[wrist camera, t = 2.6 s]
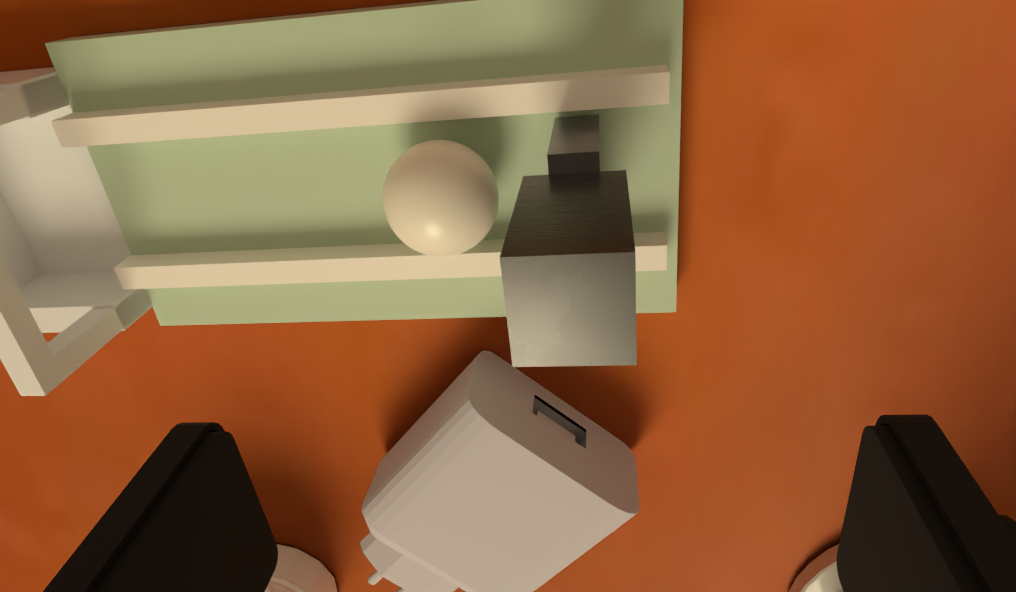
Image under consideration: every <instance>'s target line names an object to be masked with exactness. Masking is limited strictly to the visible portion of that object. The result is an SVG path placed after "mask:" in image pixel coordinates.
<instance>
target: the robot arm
mask: <svg viewBox="0 0 1016 592" xmlns="http://www.w3.org/2000/svg"><path fill="white" fill-rule="evenodd" d="M277 561H278V548H277V544H276V542H275V539H274V537H273V534H272V532H271V529H270V527H269V524H268V522H267V519H266V517H265V514H264V512H263V509H262V507H261V504H260V502H259V499H258V497H257V495H256V492H255V490H254V487H253V485H252V482H251V480H250V477H249V475H248V472H247V470H246V467H245V465H244V462H243V460H242V457H241V455H240V452H239V450H238V448H237V445H236V443H235V440H234V438H233V436H232V434H230V433H229V432H225V431H224V429H223V428H222V426H221V425H219V424H218V423H213V422H211V423H180V424H177V425H176V426H175V427H174V428H173V429H171V431H170V432H169V433H168V434H167V436H166V437H165V438H164V440H163V441H162V442H161V443H160V445H159V446H158V447H157V448H156V450H155V451H154V452H153V453H152V455H151V456H150V457H149V458H148V460H147V461H146V462H145V463H144V465H143V466H142V467H141V469H140V470H139V471H138V472H137V474H136V475H135V476H134V477H133V479H132V480H131V481H130V482H129V484H128V485H127V486H126V487H125V489H124V490H123V491H122V493H121V494H120V495H119V496H118V498H117V499H116V500H115V501H114V503H113V504H112V505H111V506H110V508H109V509H108V510H107V511H106V513H105V514H104V515H103V516H102V518H101V519H100V520H99V522H98V523H97V524H96V525H95V527H94V528H93V529H92V530H91V532H90V533H89V534H88V535H87V537H86V538H85V539H84V540H83V542H82V543H81V544H80V546H79V547H78V548H77V549H76V551H75V552H74V553H73V554H72V556H71V557H70V558H69V559H68V561H67V562H66V563H65V564H64V566H63V567H62V568H61V570H60V571H59V572H58V573H57V575H56V576H55V577H54V578H53V580H52V581H51V582H50V583H49V585H48V586H47V587H46V588H45V590H44V591H43V592H265V590H266V588H267V586H268V584H269V582H270V580H271V577H272V575H273V573H274V571H275V568H276V565H277ZM789 592H1016V522H1015V521H1014V520H1012V519H1011V518H1009V517H1007V516H1004V515H998V514H997V512H996V511H995V509H994V508H993V506H992V505H991V503H990V502H989V500H988V499H987V497H986V496H985V494H984V493H983V491H982V490H981V489H980V487H979V486H978V484H977V483H976V481H975V480H974V478H973V477H972V475H971V474H970V472H969V471H968V469H967V468H966V466H965V465H964V463H963V462H962V460H961V459H960V457H959V456H958V454H957V453H956V451H955V450H954V448H953V447H952V445H951V444H950V442H949V441H948V439H947V438H946V436H945V435H944V433H943V432H942V430H941V429H940V427H939V426H938V425H937V423H936V422H935V421H934V419H933V418H932V417H930V416H928V415H882V416H880V417H879V418H878V420H877V423H876V425H875V426H866V427H865V428H864V430H863V433H862V438H861V443H860V447H859V452H858V457H857V462H856V466H855V471H854V476H853V480H852V485H851V490H850V495H849V499H848V504H847V509H846V514H845V518H844V523H843V528H842V532H841V537H840V542H839V544H837V545H835V546H834V547H832V548H830V549H828V550H826V551H825V552H824V553H822V554H821V555H820V556H818V557H817V558H816V559H814V560H813V561H812V562H810V563H809V564H808V565H807V566H806V567H805V569H804V570H803V571H802V572H801V573H800V574H799V575H798V576H797V577H796V579H795V581H794V583H793V585H792V586H791V588H790V590H789Z"/></svg>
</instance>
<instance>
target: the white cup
mask: <svg viewBox="0 0 1016 592" xmlns="http://www.w3.org/2000/svg"><path fill="white" fill-rule="evenodd" d="M277 548H278V561H277V565H276V568H275V571H274V573H273V575H272V577H271V580H270V582H269V584H268V586H267V588H266V590H265V592H338V591H337V587H336V583H335V578H334V577H333V575H332V574H331V573H330V572H329V571H328V570H327V569H326V567H325V566H324V565H323V564H322V563H321V562H320V561H319V560H317V559H315V558H314V557H312V556H310V555H308V554H306V553H305V552H303V551H301V550H299V549H297V548H293V547H288V546H284V545H280V544H277Z"/></svg>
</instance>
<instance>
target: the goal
mask: <svg viewBox="0 0 1016 592" xmlns="http://www.w3.org/2000/svg"><path fill="white" fill-rule="evenodd" d="M71 113H73V112H72V109H71V107H70V104H69V102H68V100H67V97H66V95H65V92H64V90H63V87H62V85H61V83H60V80H59V78H58V75H57V73H56V70H55V68H54V67H49V68H38V69H27V70H17V71H6V72H0V359H1V361H2V363H3V365H4V366H5V368H6V370H7V372H8V374H9V375H10V377H11V379H12V381H13V382H14V384H15V386H16V388H17V390H18V391H19V393H20V395H21V396H46V395H47V394H48V393H49V392H51V391H52V390H53V389H54V388H55V387H56V386H58V385H59V384H60V383H61V382H62V381H63V380H65V379H66V378H67V377H68V376H69V375H70V374H72V373H73V372H74V371H75V370H76V369H77V368H78V367H80V366H81V365H82V364H83V363H84V362H85V361H87V360H88V359H89V358H90V357H91V356H92V355H94V354H95V353H96V352H97V351H98V350H99V349H101V348H102V347H103V346H104V345H105V344H106V343H108V342H109V341H110V340H111V339H112V338H113V337H114V336H116V335H117V334H118V333H119V332H120V331H125V330H126V329H127V328H128V327H129V326H130V325H132V324H133V323H134V322H135V321H136V320H137V319H139V318H140V317H141V316H142V315H143V314H144V313H145V312H147V311H148V310H149V309H150V308H151V307H152V304H151V302H150V299H149V297H148V294H147V292H146V289H127V290H123V289H122V286H121V284H120V282H119V280H118V277H117V275H116V273H115V270H114V267H116V266H117V265H119V264H120V263H121V262H123V261H124V260H126V259H127V258H128V257H130V256H131V253H130V251H129V248H128V246H127V243H126V241H125V238H124V236H123V233H122V231H121V229H120V226H119V224H118V221H117V219H116V216H115V214H114V212H113V209H112V207H111V204H110V202H109V199H108V197H107V195H106V192H105V190H104V187H103V185H102V182H101V180H100V178H99V175H98V173H97V170H96V168H95V165H94V163H93V160H92V158H91V156H90V153H89V151H88V148H87V146H81V147H67V148H62V147H61V144H60V142H59V140H58V137H57V135H56V133H55V130H54V128H53V126H52V123H51V121H52V120H55V119H57V118H60V117H63V116H65V115H68V114H71ZM50 332H61V333H60V334H58V335H57V336H56V337H55V338H53V339H52V340H51V341H49V342H48V343H46V341H45V339H44V337H43V335H42V333H50Z"/></svg>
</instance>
